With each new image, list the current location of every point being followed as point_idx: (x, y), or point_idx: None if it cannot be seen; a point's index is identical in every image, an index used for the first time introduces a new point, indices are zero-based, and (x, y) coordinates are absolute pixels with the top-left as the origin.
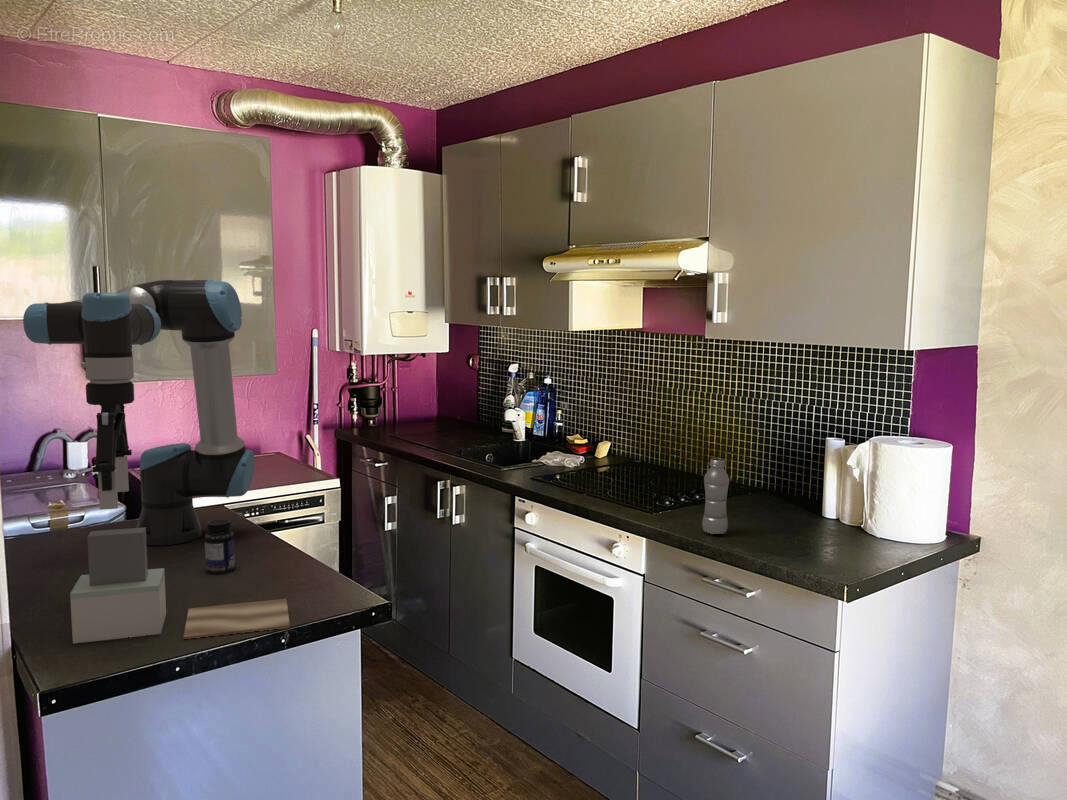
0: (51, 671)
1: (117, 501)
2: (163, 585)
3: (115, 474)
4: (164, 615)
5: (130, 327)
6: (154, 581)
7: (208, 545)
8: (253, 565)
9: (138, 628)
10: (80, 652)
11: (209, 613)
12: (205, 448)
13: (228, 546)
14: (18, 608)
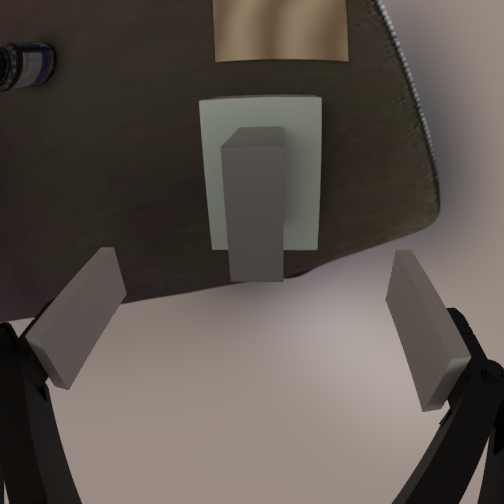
0: (394, 223)
1: (408, 262)
2: (234, 97)
3: (463, 344)
4: (245, 95)
5: None
6: (290, 108)
7: (21, 78)
8: (33, 22)
9: None
10: (346, 199)
11: (250, 26)
12: None
13: (24, 46)
14: (159, 297)
